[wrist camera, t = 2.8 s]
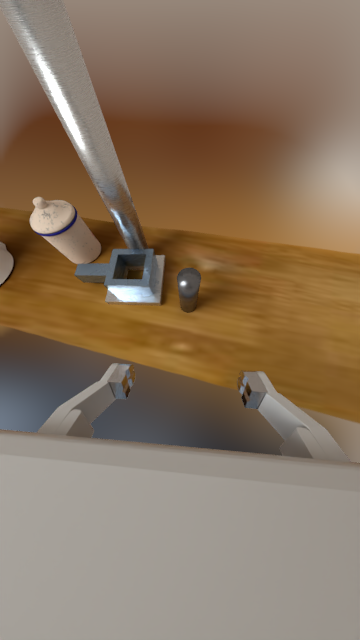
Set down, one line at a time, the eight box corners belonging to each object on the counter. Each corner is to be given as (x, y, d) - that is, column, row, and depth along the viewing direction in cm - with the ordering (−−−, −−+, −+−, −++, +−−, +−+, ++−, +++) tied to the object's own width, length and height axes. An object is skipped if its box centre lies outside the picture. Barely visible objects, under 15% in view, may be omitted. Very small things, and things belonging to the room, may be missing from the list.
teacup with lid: (108, 241, 35) (71, 186, 24) (93, 269, 32) (44, 221, 21) (70, 234, 36) (18, 179, 25) (53, 260, 34) (-13, 211, 23)
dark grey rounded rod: (180, 312, 28) (176, 287, 18) (180, 298, 29) (177, 267, 19) (195, 312, 27) (200, 288, 18) (196, 298, 28) (200, 267, 19)
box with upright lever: (83, 303, 29) (-476, 5, 5) (98, 250, 34) (-144, -48, 9) (161, 305, 28) (-24, -78, 3) (166, 250, 33) (102, -92, 8)
